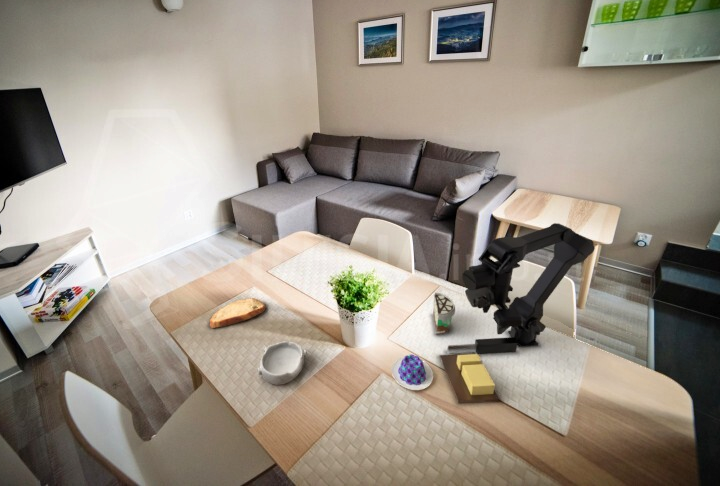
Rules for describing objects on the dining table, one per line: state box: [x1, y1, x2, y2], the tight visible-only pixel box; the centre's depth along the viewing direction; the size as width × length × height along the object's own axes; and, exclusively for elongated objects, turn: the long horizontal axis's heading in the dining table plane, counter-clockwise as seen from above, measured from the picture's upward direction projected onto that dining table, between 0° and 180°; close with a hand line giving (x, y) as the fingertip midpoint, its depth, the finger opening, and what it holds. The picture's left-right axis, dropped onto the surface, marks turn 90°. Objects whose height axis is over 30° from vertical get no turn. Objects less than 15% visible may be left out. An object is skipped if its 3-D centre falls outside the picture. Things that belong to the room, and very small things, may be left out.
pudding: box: [391, 354, 434, 391], centre depth 97 cm, size 12×12×5 cm
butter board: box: [439, 352, 500, 404], centre depth 96 cm, size 11×16×1 cm
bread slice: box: [209, 297, 267, 329], centre depth 128 cm, size 18×18×4 cm
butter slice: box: [457, 353, 482, 370], centre depth 97 cm, size 6×2×4 cm, turn 90°
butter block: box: [461, 363, 496, 395], centre depth 92 cm, size 6×7×4 cm
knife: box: [446, 336, 518, 355], centre depth 103 cm, size 21×2×4 cm, turn 90°
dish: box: [257, 340, 308, 385], centre depth 103 cm, size 14×14×5 cm
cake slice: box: [432, 292, 456, 336], centre depth 113 cm, size 12×6×10 cm, turn 168°
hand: (491, 322), depth 100 cm, fingers open, 9 cm apart
